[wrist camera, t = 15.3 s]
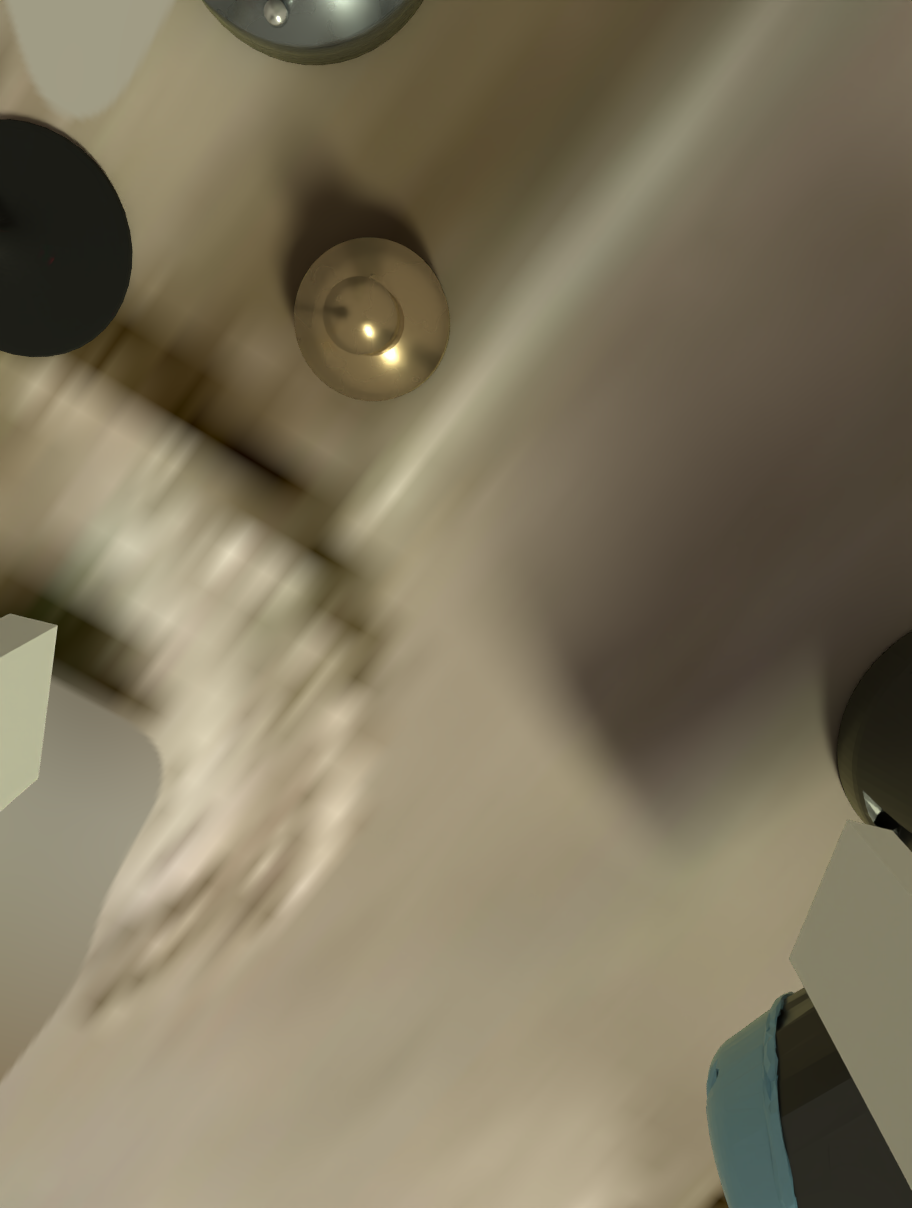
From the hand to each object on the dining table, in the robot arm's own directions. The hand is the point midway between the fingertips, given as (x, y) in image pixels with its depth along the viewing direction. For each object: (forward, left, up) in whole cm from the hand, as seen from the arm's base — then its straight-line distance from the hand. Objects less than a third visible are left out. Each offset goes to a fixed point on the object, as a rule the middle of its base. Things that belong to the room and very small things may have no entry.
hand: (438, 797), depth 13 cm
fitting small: (+6, -8, -30) cm, 31 cm away
